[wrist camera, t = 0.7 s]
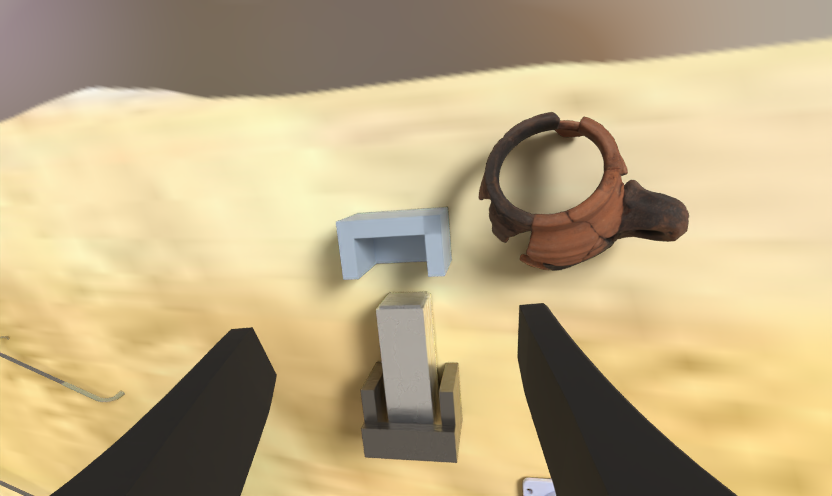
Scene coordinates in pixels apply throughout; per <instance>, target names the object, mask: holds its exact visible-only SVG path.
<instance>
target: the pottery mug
mask: <svg viewBox="0 0 832 496" xmlns="http://www.w3.org/2000/svg"><path fill="white" fill-rule="evenodd" d="M550 130H555V131H556V132H557V133H558V134H560V135H561V136H563V137H580V136H585V137H587V138H588V139H590V140H591V141H592V142H593V143H594V144H596V146H597V147H598V148H599V150H600V152H601V154H602V157H603V161H604V174H603V177H602V180H601V182H600V184H599V186H598V187H597V189H596V190H595V191H594V193H593V194H592V195H591V196H590V197H589V198H587V199H586V200H585V201H584V202H582V203H581V204H579V205H578V206H576V207H574V208H572V209H569V210H567V211H564V212H560V213H555V214H531V213H528V212H525V211H523V210H521V209H519V208H517V207H515V206H514V205H512V204H511V203H510V202H509V201H508V200H507V199H506V197H505V196H504V194H503V192H502V191H501V188H500V185H499V173H500V168H501V166H502V163H503V161H504V159H505V158H506V156H507V155H508V153H509V152H510V151H511V150H512V149H513V148H514V147H515V146H517V145H518V144H519V143H520V142H521V141H523V140H525V139H526V138H528V137H530V136H532V135H535V134H537V133H541V132H545V131H550ZM627 173H628V171H627V167H626V165H625V162H624V160H623V158H622V157H621V155H620V153H619V150H618V147H617V144H616V142H615V139H614V138H613V137H612V135H611V134H610V133H609V131H608V130H606V129H605V128H604V126H603V125H601V124H600V123H598V122H596V121H594V120H592V119H590V118H588V117H583V118H582V119H581V121H580V122H575V121H569V120H563V121H560V118H559V117H558V116H557V115H556V114H555V113H553V112H548V113H544V114H540V115H537V116H534V117H532V118H529V119H527V120H524V121H522V122H520V123H519V124H517V125H515V126H514V127H513V128H511V129H510V130H509V131H508V132H507V133H506V134H505V135H504V137H503V138H501V139H500V140H499V141H498V143H497V144H496V145H495V146H494V148H493V150H492V152H491V153H490V155H489V157H488V160H487V163H486V168H485V173H484V176H483V179H482V182H481V186H480V190H479V199H480V200H483V199H490V200H491V205H490V208H489V218H490V221H491V223H492V232H493V234H494V235H495V236H496V237H497V238H498V239H499V240H500V241H502V242H504V243H505V242H507V241H508V240H509V238H510V237H512V236H515V235H517V234H519V233H523V232H526V231H531V232H532V233H531V236H530V242H529V245H528V249H527V251H526V254H527V255H525V254H522V255H521V256H520V260H521V261H522V262H524V263H526V264H527V265H530V266H532V267H537V268H540V269H545V270H562V269H566V268H569V267H571V266H574V265H576V264H579V263H581V262H584V261H586V260H588V259H590V258H593V257H595V256H597V255H599V254H600V253H602V252H604V251H605V250H606V249H608V248H610V247H611V246H612V245H613V244H614V242H615V241H616V240H617V239H621V238H625V237H637V238H644V239H649V240H654V241H667V242H669V241H675V240H677V239H678V238H679V237H680V236H682V235H683V234H684V233H685V232H687V229H688V222H689V220H688V218H689V213H688V211H687V209H686V207H685V205H684V204H683V203H682V202H681V201H679V200H677V199H676V198H673V197H670V196H667V195H665V194H661V193H656V192H651V191H648V190H646V189H644V188H643V187H642V186H641V185H640V184H639V183H638V182H637V181H635V180H630V181H628V182H627V183H626V184H625V185H624V183H623V182H622V179H621V176H623V175H626V174H627Z"/></svg>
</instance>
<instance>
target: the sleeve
mask: <svg viewBox="0 0 832 496" xmlns="http://www.w3.org/2000/svg"><path fill="white" fill-rule="evenodd" d="M361 397H362V405H363V413H364V421H365V422H364V424H363V426H362V428H361V431H362V439H363V446H364V454H365V457H367V458H384V459H401V460H418V461H435V462H452V463H457V459H458V451H459V442H460V434H461V426H462V407H461V394H460V381H459V367H458V363H446V364H445V368H444V372H443V377H442V381H441V385H440V389H439V398H440V410H441V422H442V425H438V424H412V423H389V420H388V411H387V403H386V394H385V385H384V377H383V368H382V362H376V364H375V366H374V368H373V369H372V371H371V373H370V374H369V376H368V378H367V380H366V381H365V383H364V385H363V387H362V388H361Z"/></svg>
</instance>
